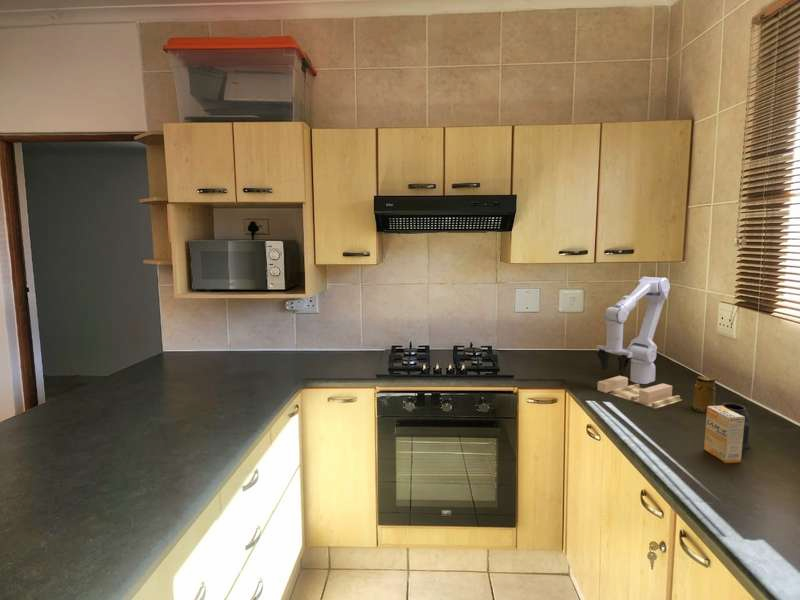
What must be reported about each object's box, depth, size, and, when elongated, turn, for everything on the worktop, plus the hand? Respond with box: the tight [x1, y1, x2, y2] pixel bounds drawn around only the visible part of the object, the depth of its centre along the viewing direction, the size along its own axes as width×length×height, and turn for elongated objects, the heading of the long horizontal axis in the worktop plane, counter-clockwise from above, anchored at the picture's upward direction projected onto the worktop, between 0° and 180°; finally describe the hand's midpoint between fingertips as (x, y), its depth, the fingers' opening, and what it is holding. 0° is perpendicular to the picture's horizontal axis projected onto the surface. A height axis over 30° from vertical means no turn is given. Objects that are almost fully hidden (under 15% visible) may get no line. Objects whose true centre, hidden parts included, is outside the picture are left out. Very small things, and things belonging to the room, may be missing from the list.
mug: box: [721, 402, 751, 451], centre depth 135 cm, size 12×9×11 cm
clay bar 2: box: [639, 383, 673, 405], centre depth 172 cm, size 14×4×4 cm, turn 119°
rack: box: [608, 383, 682, 409], centre depth 175 cm, size 16×18×2 cm
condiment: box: [692, 375, 716, 414], centre depth 160 cm, size 7×8×12 cm
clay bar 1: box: [596, 375, 629, 394], centre depth 186 cm, size 14×4×4 cm, turn 121°
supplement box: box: [703, 405, 745, 464], centre depth 129 cm, size 8×5×13 cm, turn 5°
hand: (613, 371), depth 185 cm, fingers open, 7 cm apart
